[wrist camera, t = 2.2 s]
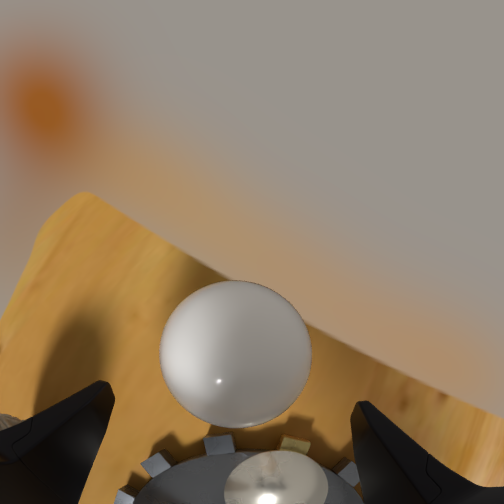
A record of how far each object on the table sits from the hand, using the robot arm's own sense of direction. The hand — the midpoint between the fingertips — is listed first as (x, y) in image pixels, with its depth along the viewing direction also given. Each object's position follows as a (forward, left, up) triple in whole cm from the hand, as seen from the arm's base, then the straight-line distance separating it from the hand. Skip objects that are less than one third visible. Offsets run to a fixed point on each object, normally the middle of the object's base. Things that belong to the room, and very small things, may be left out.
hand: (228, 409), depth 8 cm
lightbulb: (+2, -1, -10) cm, 10 cm away
